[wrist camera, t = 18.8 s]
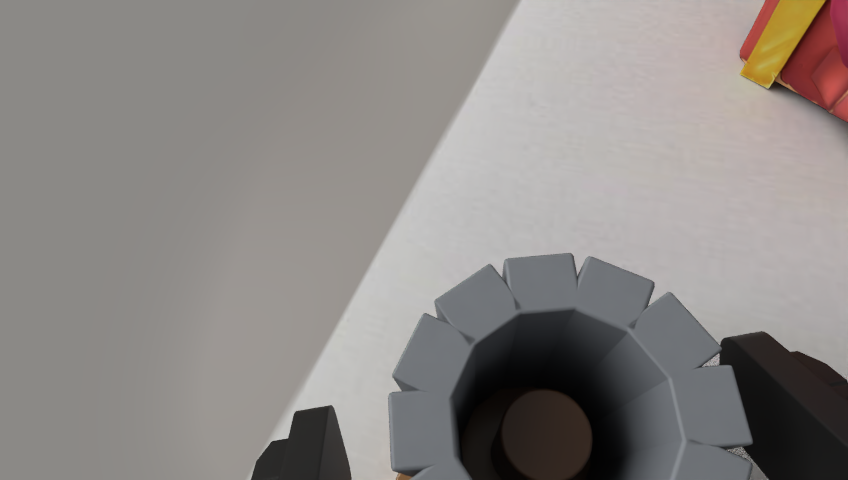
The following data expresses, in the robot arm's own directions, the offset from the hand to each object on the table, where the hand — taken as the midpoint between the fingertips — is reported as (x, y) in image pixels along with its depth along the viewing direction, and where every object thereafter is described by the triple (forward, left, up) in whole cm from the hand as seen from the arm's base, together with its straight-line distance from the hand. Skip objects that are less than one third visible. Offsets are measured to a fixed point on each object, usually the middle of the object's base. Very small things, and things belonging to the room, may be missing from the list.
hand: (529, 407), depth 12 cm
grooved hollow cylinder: (0, 0, -6) cm, 6 cm away
